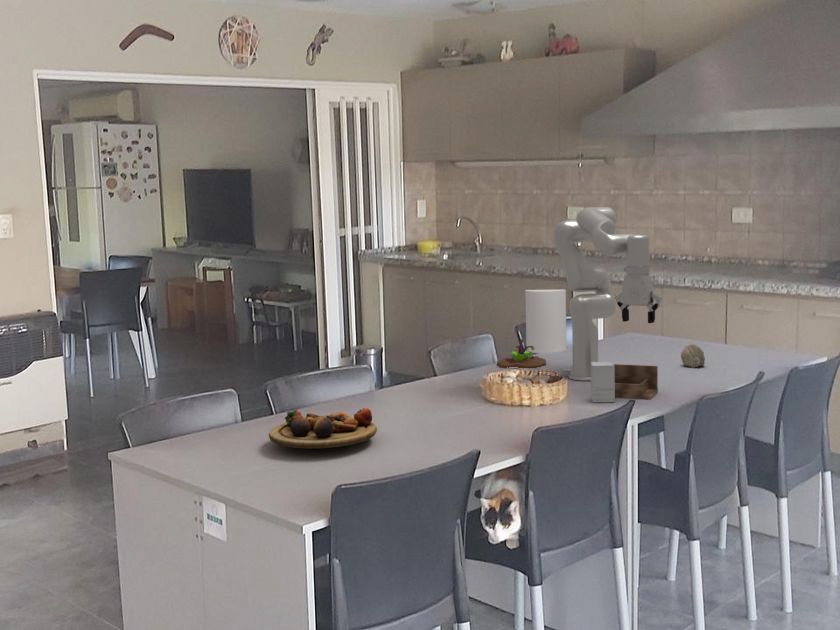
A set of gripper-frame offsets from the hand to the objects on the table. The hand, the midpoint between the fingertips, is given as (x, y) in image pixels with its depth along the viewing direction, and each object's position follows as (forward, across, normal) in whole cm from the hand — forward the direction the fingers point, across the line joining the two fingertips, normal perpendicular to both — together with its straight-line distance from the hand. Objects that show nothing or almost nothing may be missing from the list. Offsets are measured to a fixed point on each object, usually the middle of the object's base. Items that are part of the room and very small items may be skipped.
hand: (638, 322), depth 332 cm
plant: (+25, -68, +25) cm, 77 cm away
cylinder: (+25, -77, +55) cm, 98 cm away
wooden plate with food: (+26, -47, -102) cm, 115 cm away
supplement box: (+25, -6, -14) cm, 29 cm away
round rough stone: (+25, -8, +55) cm, 61 cm away
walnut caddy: (+25, -4, -1) cm, 26 cm away
